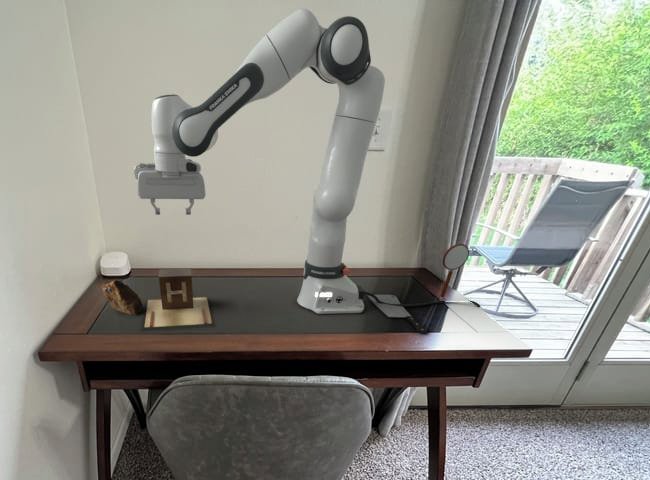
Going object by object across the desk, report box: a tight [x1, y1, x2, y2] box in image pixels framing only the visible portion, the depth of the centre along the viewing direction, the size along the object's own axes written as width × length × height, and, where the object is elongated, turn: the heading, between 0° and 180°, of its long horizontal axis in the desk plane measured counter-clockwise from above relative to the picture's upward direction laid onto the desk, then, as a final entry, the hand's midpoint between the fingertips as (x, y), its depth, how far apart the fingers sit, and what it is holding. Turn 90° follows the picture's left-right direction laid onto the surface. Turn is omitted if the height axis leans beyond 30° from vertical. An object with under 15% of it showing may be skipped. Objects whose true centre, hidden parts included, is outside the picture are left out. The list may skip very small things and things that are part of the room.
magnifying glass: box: [439, 243, 470, 301], centre depth 120 cm, size 9×2×20 cm, turn 97°
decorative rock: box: [101, 279, 143, 316], centre depth 111 cm, size 12×6×11 cm, turn 66°
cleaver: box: [366, 293, 428, 335], centre depth 116 cm, size 29×1×10 cm
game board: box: [144, 296, 213, 328], centre depth 114 cm, size 20×20×1 cm
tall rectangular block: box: [158, 267, 194, 310], centre depth 114 cm, size 10×7×11 cm
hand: (173, 214), depth 110 cm, fingers open, 8 cm apart
